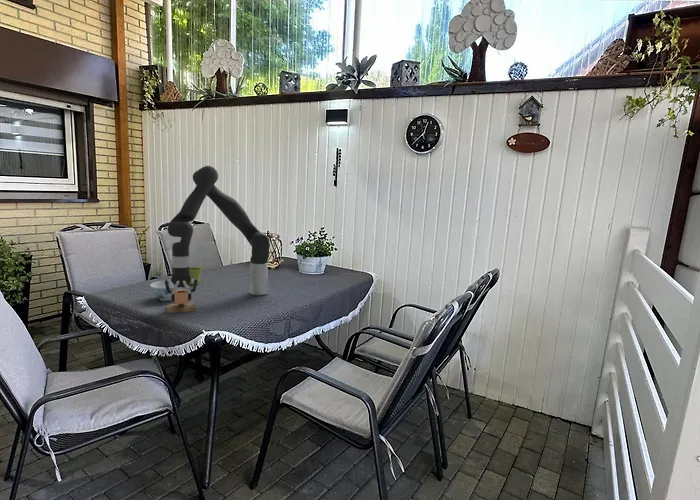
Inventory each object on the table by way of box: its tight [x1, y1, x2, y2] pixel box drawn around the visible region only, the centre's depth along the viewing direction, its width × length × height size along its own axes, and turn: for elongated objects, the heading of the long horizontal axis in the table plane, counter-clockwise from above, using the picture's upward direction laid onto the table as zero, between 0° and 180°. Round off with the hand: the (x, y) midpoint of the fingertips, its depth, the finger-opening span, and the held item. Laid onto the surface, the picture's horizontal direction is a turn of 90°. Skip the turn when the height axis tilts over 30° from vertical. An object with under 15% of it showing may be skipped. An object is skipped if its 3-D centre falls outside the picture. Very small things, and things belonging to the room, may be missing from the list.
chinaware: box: [149, 280, 184, 302], centre depth 191 cm, size 15×15×8 cm
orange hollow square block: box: [174, 289, 189, 304], centre depth 177 cm, size 6×6×5 cm
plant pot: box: [188, 266, 203, 285], centre depth 222 cm, size 9×9×9 cm
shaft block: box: [166, 302, 197, 314], centre depth 177 cm, size 12×8×8 cm, turn 112°
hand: (181, 301), depth 177 cm, fingers closed on orange hollow square block, 5 cm apart
